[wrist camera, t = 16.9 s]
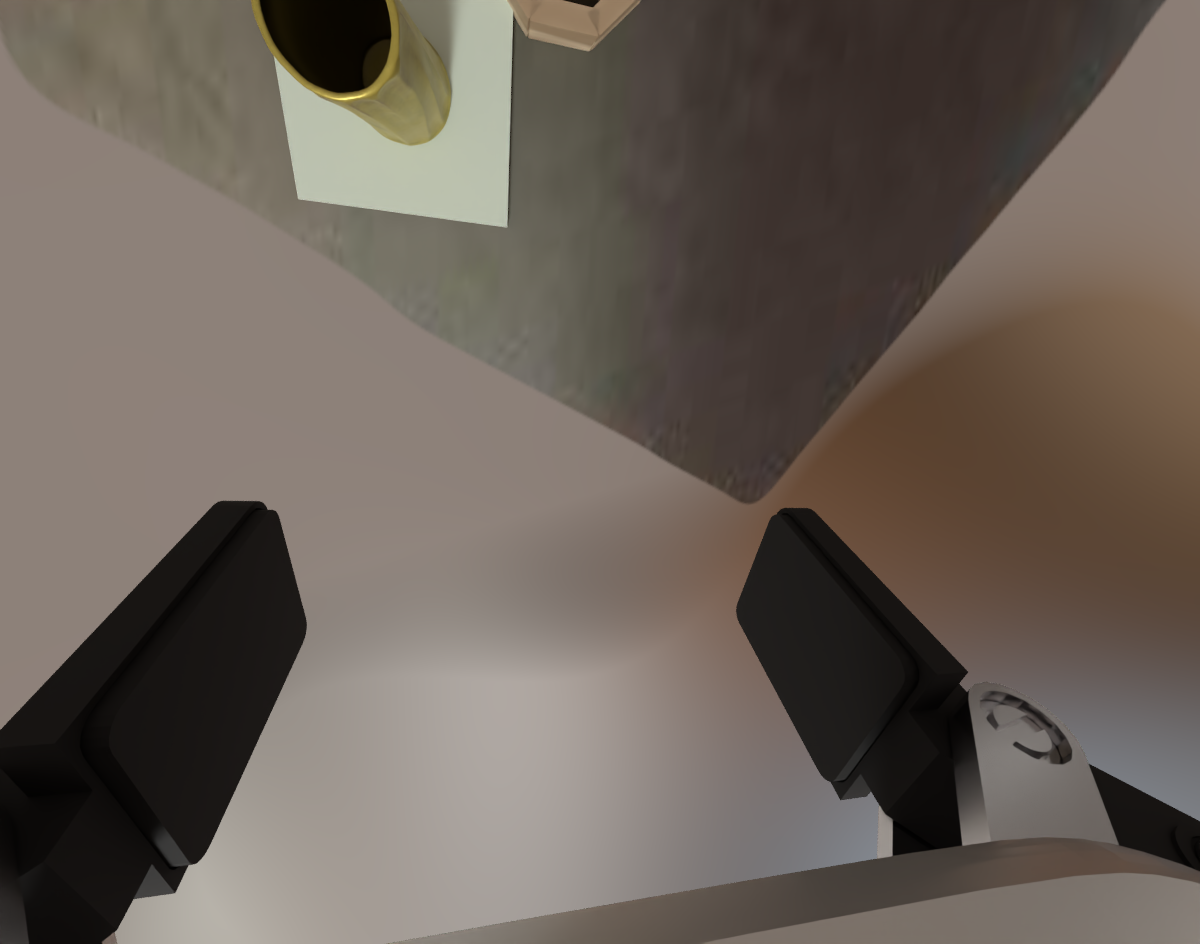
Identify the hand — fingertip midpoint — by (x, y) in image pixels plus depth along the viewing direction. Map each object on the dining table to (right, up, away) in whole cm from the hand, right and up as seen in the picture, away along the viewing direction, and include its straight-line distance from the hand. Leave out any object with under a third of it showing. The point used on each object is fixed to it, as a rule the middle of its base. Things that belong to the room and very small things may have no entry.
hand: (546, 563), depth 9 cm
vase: (-12, +27, +20) cm, 35 cm away
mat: (-12, +27, +21) cm, 36 cm away
